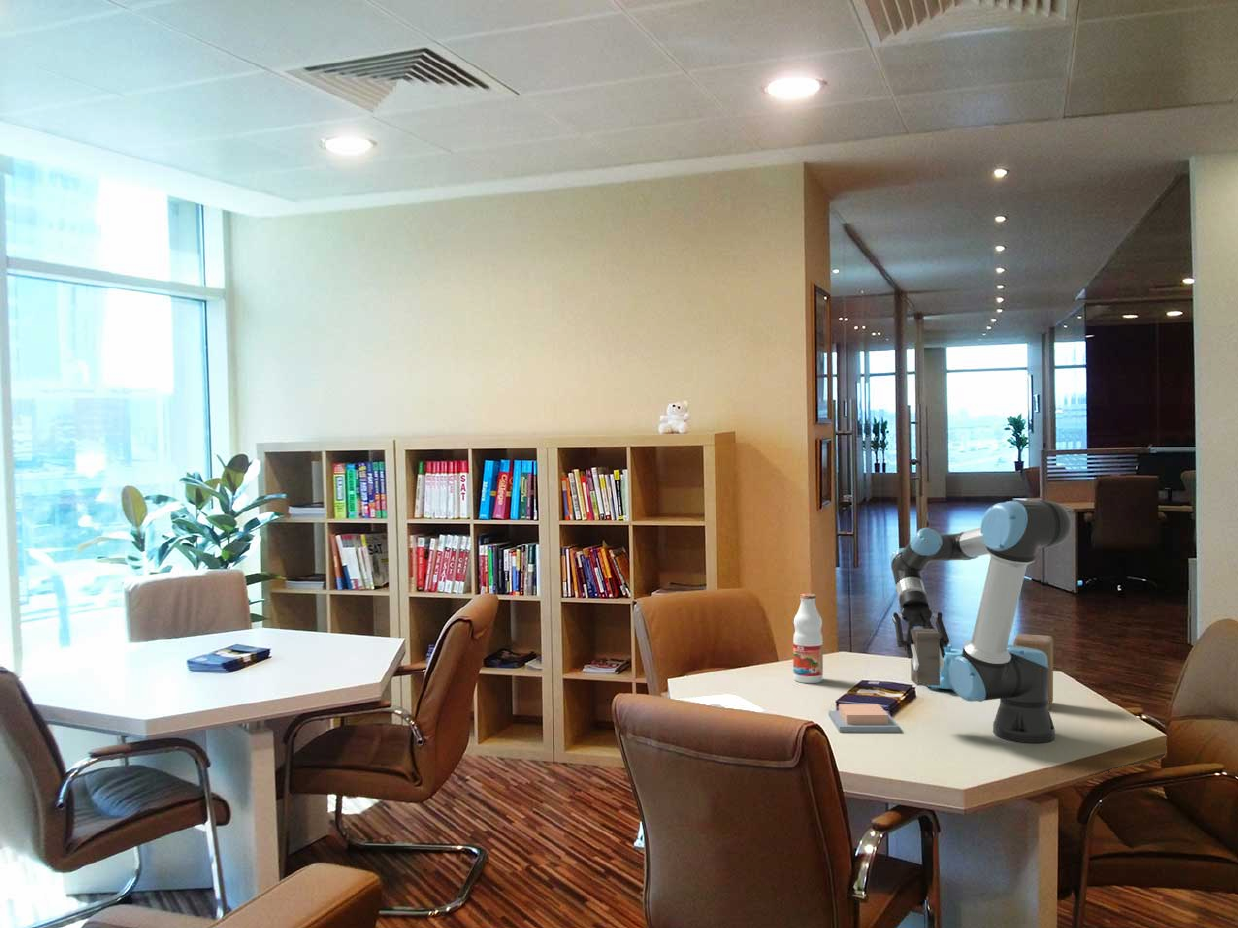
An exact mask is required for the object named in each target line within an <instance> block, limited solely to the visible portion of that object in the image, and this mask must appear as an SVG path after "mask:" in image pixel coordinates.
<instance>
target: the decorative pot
mask: <svg viewBox="0 0 1238 928" xmlns="http://www.w3.org/2000/svg"><path fill="white" fill-rule="evenodd" d="M952 647H953V645H952V644H949V643H948V645H947V647H944V651H945V656H944V658H943V661H944V667H943V670H940V685H931V686H929V687H930V690H934V691H937V690H938V691H939V690H940V689H942V690H943V689H944V690H951V691H952V692H953V691H954V692H955V690H954V689H953V687H952V684H951V682H950V678H949V664H950V662H951V660H952V659H954V658H955V657H957V656H962V652H963V649H959V648H952ZM955 693H956V692H955Z"/></svg>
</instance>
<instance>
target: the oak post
mask: <svg viewBox="0 0 1238 928" xmlns="http://www.w3.org/2000/svg"><path fill="white" fill-rule="evenodd" d="M934 629H935V628H934ZM934 629H924V628H917V629H916V628H913V629H911V634H912V639H911V644H914V646H915V651H916V655H917V659H918V663H919V666H918V669H917V671H914V668H913V663H912V659H911V658H910V659H911V660H910V665H911V666H910V668H911V669H910V671H911V676H910V677H911V678H910V679H911V682H912V683H914V684H915V685H916V686H927V687H930V686H931V685H940V633H939V632H938V630H937V631H936V629H935V630H934Z"/></svg>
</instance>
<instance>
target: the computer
mask: <svg viewBox="0 0 1238 928" xmlns="http://www.w3.org/2000/svg"><path fill="white" fill-rule="evenodd" d="M676 700H685V701H690V702H695V703H700V704H706V705H712V706H718V707H725V708H734V709H743V710H750V711H755V712H761V713H764V714H765V709H763V708H762V707H760V706H758V705H756V704H754V703H752V702H750V701H748V700H746V699H745V698H742V697H741V696H739V695H734V694H727V693H726V694H718V695H717V694H716V695H707V696H705V695H704V696H697V697H696V696H695V697H688V698H687V697H686V698H678V699H677V698H676Z"/></svg>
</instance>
